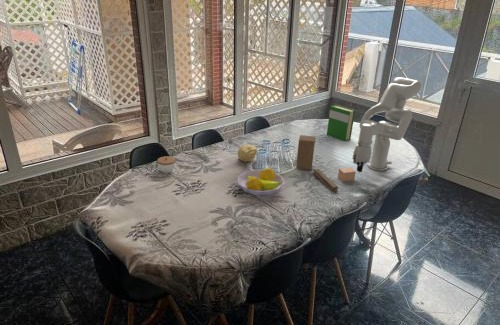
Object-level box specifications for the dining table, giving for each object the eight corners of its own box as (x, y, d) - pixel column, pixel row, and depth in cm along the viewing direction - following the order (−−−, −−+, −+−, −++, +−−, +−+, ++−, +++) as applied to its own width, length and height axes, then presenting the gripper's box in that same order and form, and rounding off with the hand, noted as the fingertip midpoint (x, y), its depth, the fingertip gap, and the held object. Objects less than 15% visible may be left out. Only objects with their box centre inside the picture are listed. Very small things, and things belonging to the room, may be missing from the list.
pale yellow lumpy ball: (245, 165, 237) (246, 149, 233) (234, 159, 245) (234, 144, 241) (258, 160, 244) (259, 146, 240) (247, 155, 252) (247, 140, 248)
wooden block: (311, 170, 234) (314, 141, 226) (295, 168, 236) (298, 139, 227) (312, 164, 243) (315, 136, 235) (297, 162, 245) (300, 134, 236)
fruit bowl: (230, 182, 215) (230, 165, 210) (271, 175, 225) (272, 159, 220) (248, 206, 192) (249, 187, 187) (293, 197, 202) (295, 179, 197)
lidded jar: (179, 171, 226) (178, 157, 222) (164, 176, 218) (163, 162, 214) (169, 165, 232) (168, 152, 228) (154, 170, 225) (153, 157, 221)
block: (349, 176, 229) (350, 167, 227) (354, 180, 224) (355, 171, 222) (337, 177, 227) (339, 168, 225) (342, 181, 222) (343, 172, 220)
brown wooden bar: (318, 173, 231) (318, 168, 230) (337, 191, 211) (338, 186, 209) (313, 173, 230) (314, 169, 229) (332, 191, 210) (333, 187, 208)
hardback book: (350, 139, 288) (355, 109, 278) (345, 141, 284) (349, 111, 274) (332, 133, 300) (336, 104, 290) (326, 134, 295) (330, 106, 285)
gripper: (371, 140, 224) (366, 167, 232) (350, 142, 220) (345, 169, 227) (378, 145, 218) (373, 172, 225) (357, 147, 213) (352, 175, 221)
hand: (359, 171), depth 226 cm, fingers closed
